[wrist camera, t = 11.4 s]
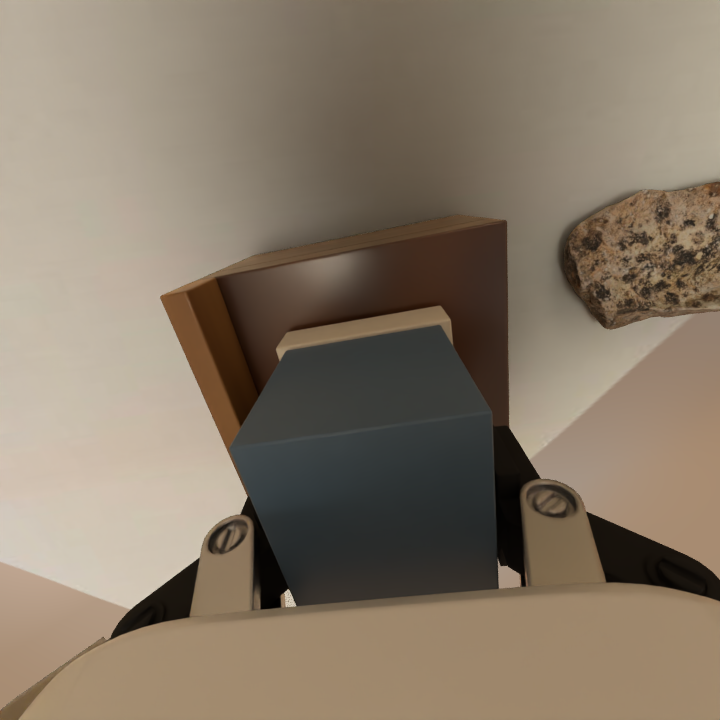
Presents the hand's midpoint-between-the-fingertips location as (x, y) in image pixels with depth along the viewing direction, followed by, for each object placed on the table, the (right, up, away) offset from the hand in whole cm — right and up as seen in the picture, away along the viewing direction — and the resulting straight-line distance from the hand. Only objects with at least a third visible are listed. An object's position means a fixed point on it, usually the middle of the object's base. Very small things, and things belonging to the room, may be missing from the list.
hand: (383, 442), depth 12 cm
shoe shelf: (0, +3, +6) cm, 7 cm away
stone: (+16, +6, +1) cm, 17 cm away
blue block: (0, 0, +1) cm, 1 cm away
